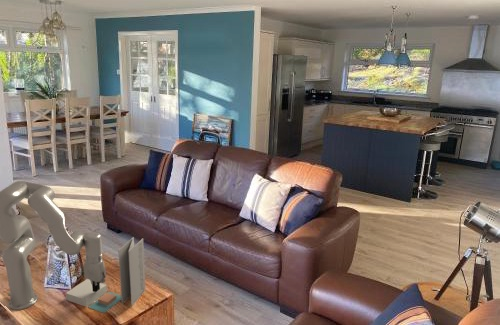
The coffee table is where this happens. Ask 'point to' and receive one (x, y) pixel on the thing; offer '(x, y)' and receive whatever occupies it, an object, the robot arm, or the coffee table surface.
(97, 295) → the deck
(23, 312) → the coffee table surface
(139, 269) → the brochure
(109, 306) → the mat
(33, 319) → the coffee table surface
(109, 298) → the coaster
